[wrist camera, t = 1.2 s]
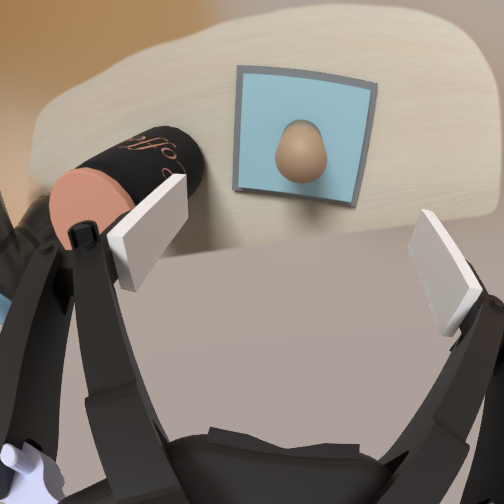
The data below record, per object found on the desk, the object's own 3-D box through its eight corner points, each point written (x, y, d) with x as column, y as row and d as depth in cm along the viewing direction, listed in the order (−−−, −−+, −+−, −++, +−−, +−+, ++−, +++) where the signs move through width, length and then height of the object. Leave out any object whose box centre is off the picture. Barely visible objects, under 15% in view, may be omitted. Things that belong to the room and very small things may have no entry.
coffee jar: (223, 159, 36) (162, 228, 21) (178, 211, 41) (114, 293, 26) (162, 108, 33) (66, 145, 18) (124, 165, 38) (40, 227, 24)
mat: (233, 187, 38) (232, 189, 37) (238, 65, 28) (237, 65, 28) (354, 204, 36) (355, 206, 35) (376, 83, 27) (377, 83, 26)
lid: (240, 183, 36) (219, 221, 28) (245, 73, 28) (221, 72, 20) (349, 198, 35) (362, 241, 27) (368, 89, 27) (394, 95, 19)
